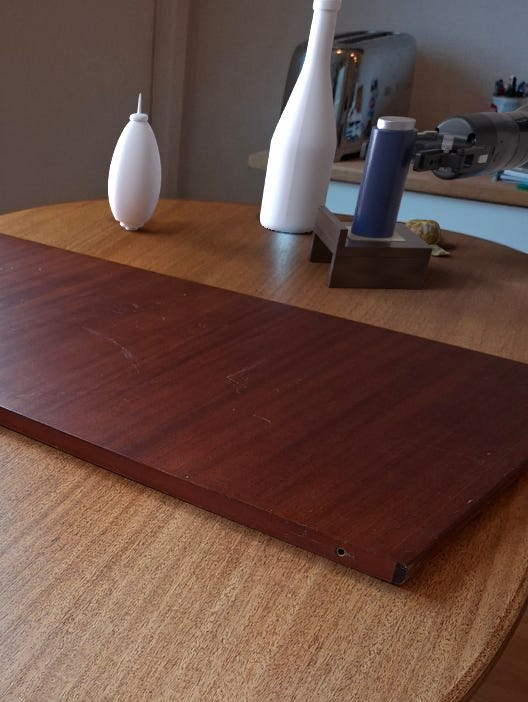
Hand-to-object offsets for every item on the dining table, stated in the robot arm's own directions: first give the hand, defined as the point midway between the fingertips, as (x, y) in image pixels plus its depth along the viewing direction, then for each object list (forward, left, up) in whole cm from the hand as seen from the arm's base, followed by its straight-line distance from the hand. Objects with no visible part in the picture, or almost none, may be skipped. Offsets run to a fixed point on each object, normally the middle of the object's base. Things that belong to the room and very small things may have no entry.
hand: (389, 156), depth 109 cm
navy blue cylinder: (0, 0, -9) cm, 9 cm away
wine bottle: (+5, -25, -14) cm, 29 cm away
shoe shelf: (0, 0, -14) cm, 14 cm away
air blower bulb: (+30, -22, -14) cm, 40 cm away
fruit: (-11, -13, -14) cm, 22 cm away
